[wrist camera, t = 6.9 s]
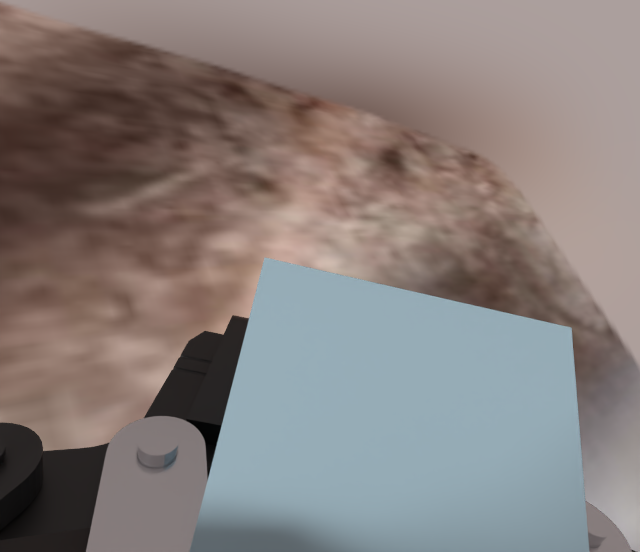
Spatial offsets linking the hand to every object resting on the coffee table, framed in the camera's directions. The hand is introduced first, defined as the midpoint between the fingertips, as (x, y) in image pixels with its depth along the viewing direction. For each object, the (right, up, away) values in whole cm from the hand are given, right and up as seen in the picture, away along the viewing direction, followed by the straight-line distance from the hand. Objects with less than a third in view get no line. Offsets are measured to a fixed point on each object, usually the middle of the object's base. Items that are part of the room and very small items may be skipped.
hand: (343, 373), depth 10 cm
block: (-1, -4, +5) cm, 6 cm away
